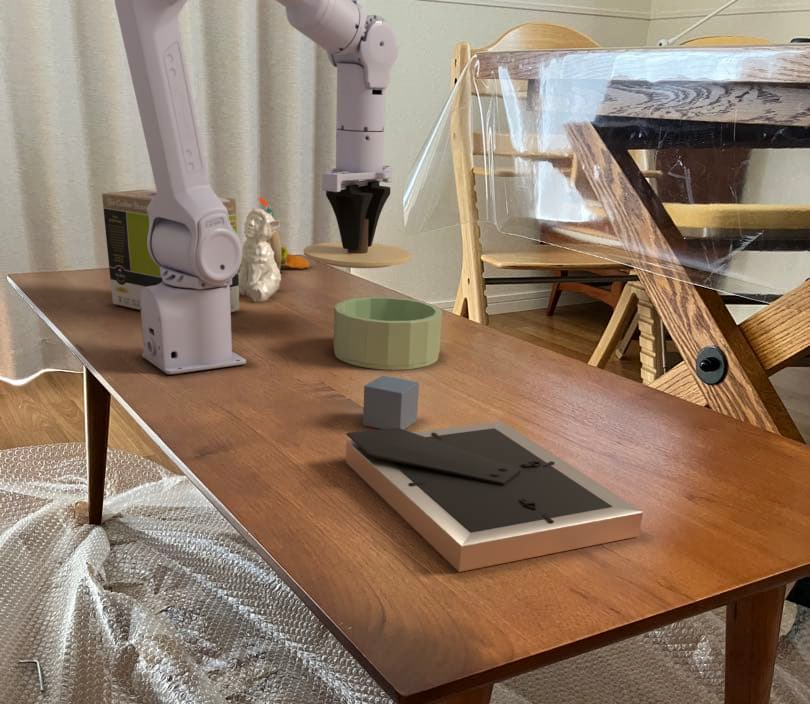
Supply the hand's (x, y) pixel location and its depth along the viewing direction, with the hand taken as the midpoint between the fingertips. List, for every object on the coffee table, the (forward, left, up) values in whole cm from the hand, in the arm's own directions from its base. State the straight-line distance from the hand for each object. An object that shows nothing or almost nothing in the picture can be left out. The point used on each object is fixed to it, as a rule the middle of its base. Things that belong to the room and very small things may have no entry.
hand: (357, 247), depth 115 cm
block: (-16, -32, -10) cm, 37 cm away
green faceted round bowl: (-3, -12, -10) cm, 16 cm away
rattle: (+9, +36, -11) cm, 39 cm away
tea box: (-17, +19, -11) cm, 28 cm away
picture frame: (-19, -50, -11) cm, 54 cm away
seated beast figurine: (-3, +23, -11) cm, 26 cm away
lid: (0, 0, -1) cm, 1 cm away
